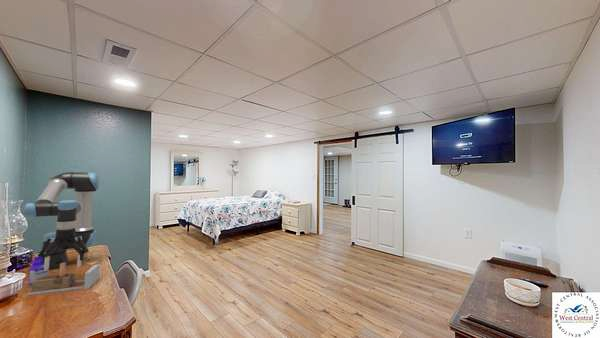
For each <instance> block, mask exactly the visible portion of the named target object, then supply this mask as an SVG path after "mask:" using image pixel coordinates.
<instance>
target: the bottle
mask: <svg viewBox="0 0 600 338" xmlns="http://www.w3.org/2000/svg"><path fill="white" fill-rule="evenodd" d="M39 253H40V252H39ZM39 253H35V254H34V259H33V260H32V262H31V264H32V265H31V266H30V267H29V274H28V275H29V276H28V285H29V286H32V282H33V281H35V280H36V279H38V278H39V277H41V276H46V275H49V270H50V269H49V268H48V269H47V270H44V263H42V260H43V258H42V257H38V254H39ZM44 254H45V253H44Z"/></svg>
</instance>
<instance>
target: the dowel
mask: <svg viewBox="0 0 600 338" xmlns="http://www.w3.org/2000/svg"><path fill="white" fill-rule="evenodd" d="M66 271H67V265H66V262H64V263H60V268H59V272H58V274H59V278H61V277H65V274H66V273H67V272H66Z"/></svg>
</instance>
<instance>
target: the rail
mask: <svg viewBox="0 0 600 338" xmlns="http://www.w3.org/2000/svg"><path fill="white" fill-rule="evenodd" d="M100 267H101V266H100V263H99V264H94V265H93V266H91V268H89V269H88V270H87V271H86V272H85V274H84V279H81V280H80V279H79V280H75V283H74V284H79V283H80V284H81V283H84V285H81V286H71V287H70V288H64V289H56V290H47V291H39V292H31V291H30V292H27V293H26V295H27V296H33V295H42V294H49V293H58V292H64V291H66V292H67V291H75V290H81V289H83V290H89V289H90V288H91V287H92V286H93V285H95V284H96V282H97V281H99V280H100V278H99V277H100Z"/></svg>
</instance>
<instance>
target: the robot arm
mask: <svg viewBox="0 0 600 338" xmlns="http://www.w3.org/2000/svg"><path fill="white" fill-rule="evenodd" d="M66 189H67V190H69V189H70V190H72V189H73V190H74V193H76V200H74V199H67V200H66V199H65V200H60V201H59V202H57V200H58V199H59V197H60V195H61V193H62V192H63V191H66ZM99 189H100V178H99V175H98V174H97V173H95V172H81V171H80V172H74V171H69V172H67V171H66V172H63V173H58V174H57V175H54V176H53V177H51V178H50V179H49V180H48V181H47V183H46V187H45V188H44V190H43V191H42V192H41V194H40V195H39V197H38V198H37V199H36V200H35V202H28V203H26V204H25V205H24V206H23V215H24V217H27V218H36V217H37V218H39V217H56V219H57V220H56V226H55V227H56V230H55V231H52V232H48V233H45V234H44V236H43V238H42V249H41V250H40V252H39V254H38V253H37V254H38V257H42V258H43V260H42V263H44V270H47V269H48V268H49V270H55V269H58V268H59V269H60V263H64V262H66V266H68V265H70V259H69V256H68V254H67V251H68V250H71V249H72V250H75V251H76V253H78V255H77V261H76V262H77V264H76V268H79V267H81V266H82V261H83V260H84V259H85V254H87V253H88V252H89V249H88V248H89V247H92V246H93V245H94V243H95V241H96V240H95V239H96V235H97V230H96V229H95V227H93V226H92V222H93V221H92V218H93V205H94V193H96V192H97V190H99ZM44 253H45V254H44Z"/></svg>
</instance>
